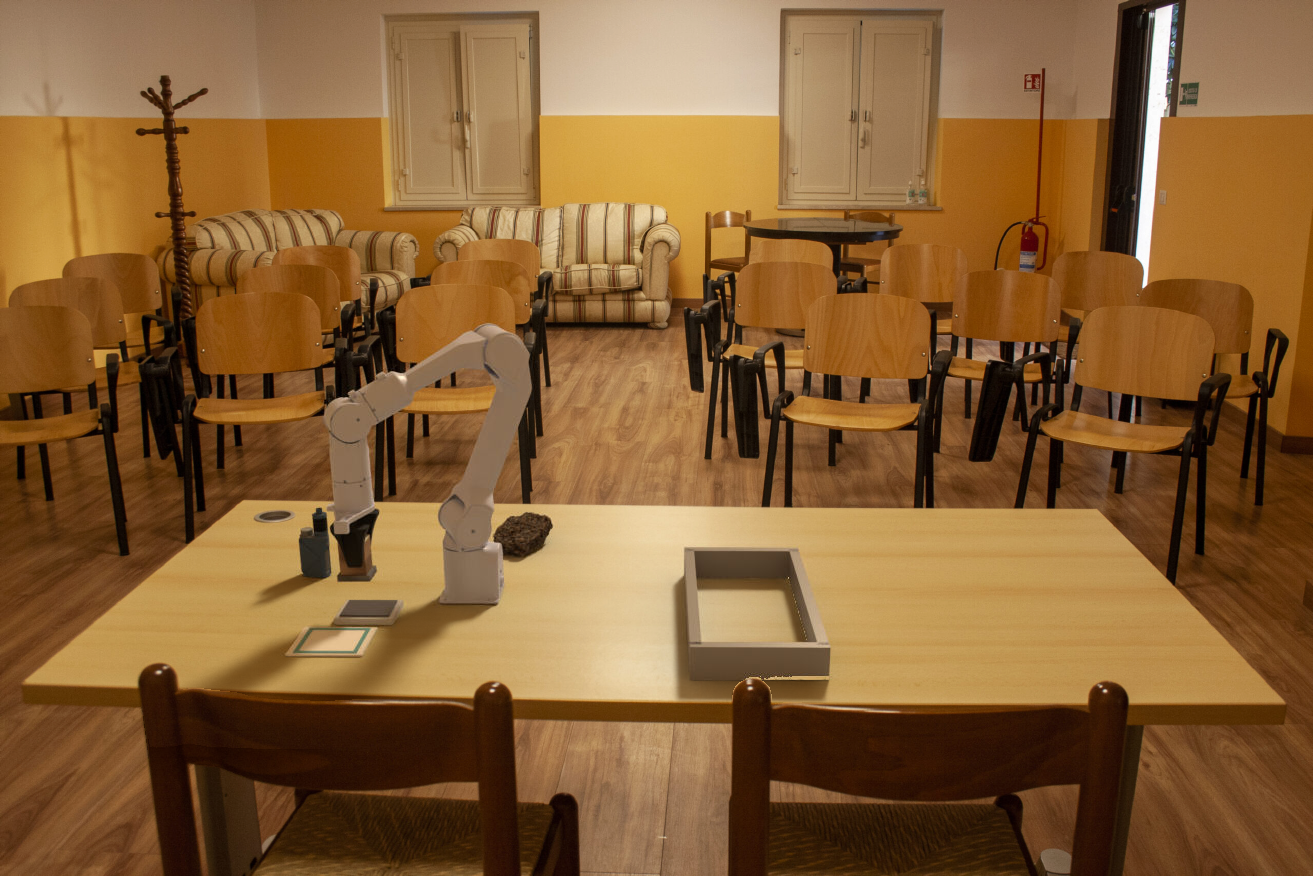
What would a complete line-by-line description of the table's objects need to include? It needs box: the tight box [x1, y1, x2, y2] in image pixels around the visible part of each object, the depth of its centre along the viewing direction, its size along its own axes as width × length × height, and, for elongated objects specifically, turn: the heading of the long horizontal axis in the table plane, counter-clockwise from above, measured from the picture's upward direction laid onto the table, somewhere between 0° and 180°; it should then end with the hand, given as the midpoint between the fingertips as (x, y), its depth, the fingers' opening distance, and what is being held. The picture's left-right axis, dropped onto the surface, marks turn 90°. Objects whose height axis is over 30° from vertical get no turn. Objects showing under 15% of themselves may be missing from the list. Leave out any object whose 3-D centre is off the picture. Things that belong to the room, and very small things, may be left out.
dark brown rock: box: [492, 511, 554, 557], centre depth 200 cm, size 12×10×5 cm
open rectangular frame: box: [683, 546, 832, 681], centre depth 169 cm, size 19×37×5 cm, turn 0°
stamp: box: [336, 534, 378, 583], centre depth 169 cm, size 5×4×6 cm
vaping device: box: [298, 507, 332, 579], centre depth 185 cm, size 3×5×12 cm, turn 78°
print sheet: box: [285, 626, 379, 658], centre depth 162 cm, size 11×9×1 cm
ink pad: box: [333, 599, 404, 626], centre depth 171 cm, size 9×7×1 cm
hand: (358, 561), depth 170 cm, fingers closed on stamp, 3 cm apart
